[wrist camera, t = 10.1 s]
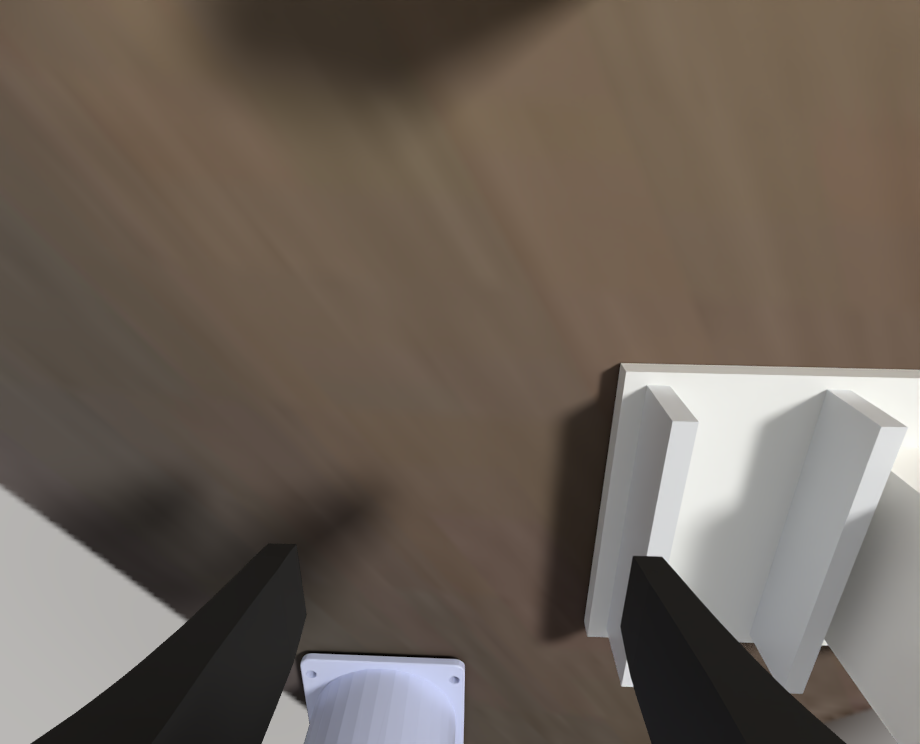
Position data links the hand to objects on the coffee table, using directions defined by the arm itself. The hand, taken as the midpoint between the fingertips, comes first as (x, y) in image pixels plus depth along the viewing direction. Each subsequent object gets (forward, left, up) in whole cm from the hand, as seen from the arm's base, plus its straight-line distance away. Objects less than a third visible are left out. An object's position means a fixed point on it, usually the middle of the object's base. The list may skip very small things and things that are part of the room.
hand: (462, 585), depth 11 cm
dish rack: (-5, -13, -9) cm, 17 cm away
